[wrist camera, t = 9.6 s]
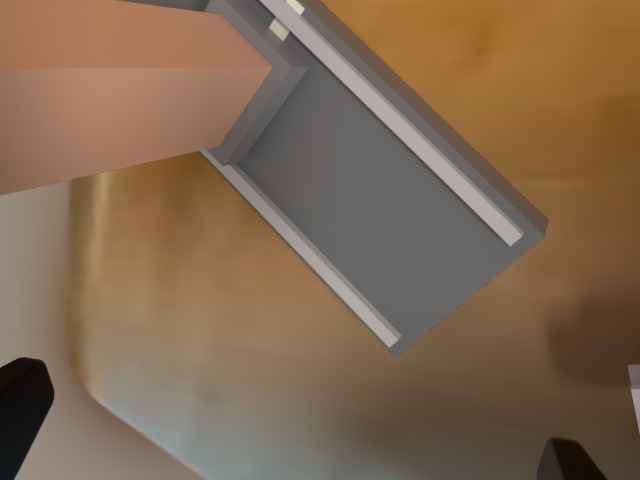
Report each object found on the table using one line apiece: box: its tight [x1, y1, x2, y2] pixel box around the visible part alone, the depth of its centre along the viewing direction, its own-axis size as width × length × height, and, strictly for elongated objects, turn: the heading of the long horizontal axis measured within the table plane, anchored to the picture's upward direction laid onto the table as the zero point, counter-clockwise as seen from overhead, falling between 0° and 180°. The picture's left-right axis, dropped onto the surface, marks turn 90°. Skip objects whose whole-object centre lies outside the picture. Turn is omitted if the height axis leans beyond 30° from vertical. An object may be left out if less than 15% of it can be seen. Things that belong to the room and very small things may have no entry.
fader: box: [0, 0, 309, 195], centre depth 15 cm, size 4×4×11 cm
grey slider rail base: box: [117, 0, 548, 358], centre depth 20 cm, size 20×7×2 cm, turn 50°
